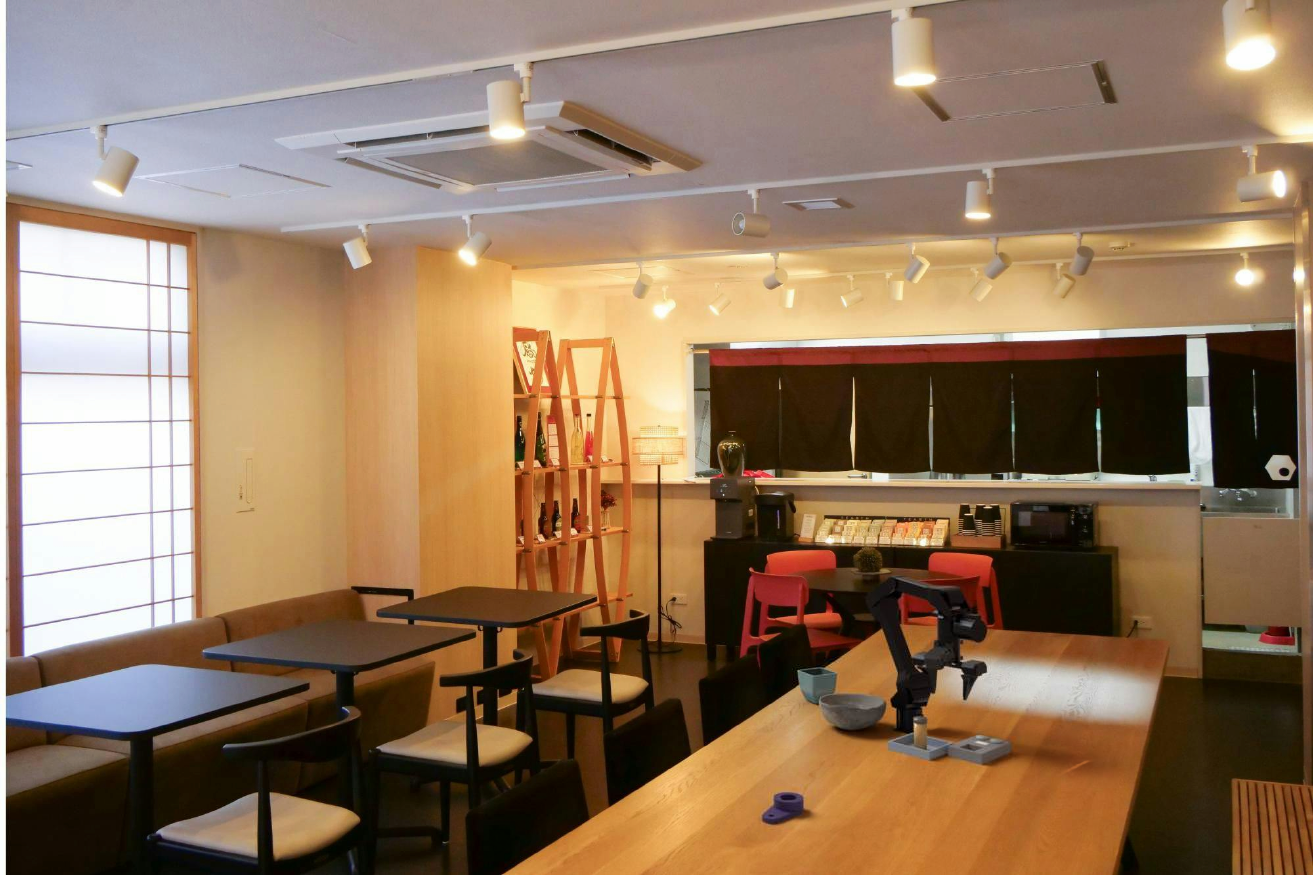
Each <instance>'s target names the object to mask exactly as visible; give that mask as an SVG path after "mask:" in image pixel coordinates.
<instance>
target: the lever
mask: <svg viewBox="0 0 1313 875" xmlns="http://www.w3.org/2000/svg"><path fill="white" fill-rule="evenodd" d="M804 798H805V797H804V796H803V795H802V794H799V793H797V792H793V791H792V792H791V791H784V792H778V793H775V794H774V795H773V805H771V806H770V807H769V808H768V809H767V810H765V811H764V812H763V813H762V815H761V821H762V822H763V823H765V824H768V825H769V824H770V825H774V824H779V823H782V822H784V821H787V820H790V819H793V818H795V817H798V816H801V815H803V814H804V812H805V810H804V807H805V806H804V803H805V802H804Z"/></svg>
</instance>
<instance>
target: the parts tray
mask: <svg viewBox="0 0 1313 875" xmlns="http://www.w3.org/2000/svg"><path fill="white" fill-rule="evenodd" d="M952 744H955V743H954V742H952V741H949V740H944V739H941V738H936V737H932V736H928V735H927V750H923V749H919V748H915V747H914V733H907V734H905V735H903V736H902V735H901V736H899V737H897V738H894V739H891V740H888V741H887V750H888V751H893V752H895V753H899V754H903V755H908V756H911V757H914V758H919V759H923V760H926V761H932V760H934V759H937V758H940V757H942V756H945V755H946V754H947V755H948V746H950V745H952Z"/></svg>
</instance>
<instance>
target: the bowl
mask: <svg viewBox="0 0 1313 875" xmlns="http://www.w3.org/2000/svg"><path fill="white" fill-rule="evenodd" d="M818 707H819V708H820V710H821V714H822V716H823V718H824V719H825V721H827V722H828V723H830V724H832V725H833V726H835V727H836V728H838V729H842V730H846V731H856V730H862V729H866V728H869V727H870V726H873V725H876V724H877V723H879V722H880V721H881V720H882V718H884V716H885V714H886V710H887V702H886V700H885V699H884V698H882V697H881V696H877V695H873V694H863V693H850V692H849V693H848V692H847V693H845V692H844V693H842V692H841V693H840V692H839V693H838V692H837V693H834V694H828V695H825V696H822V697H820V699H819V703H818Z"/></svg>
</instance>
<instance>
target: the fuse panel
mask: <svg viewBox="0 0 1313 875" xmlns="http://www.w3.org/2000/svg"><path fill="white" fill-rule="evenodd" d="M1011 753H1012V742H1011V741H1007V740H1003V739H1000V738H994V737H990V736H988V735H982V734H976V735H974V736H971V737H968V738H966V739H963V740H960V741H958V742H956V743H954V744H952V745H950V746H948V753H947V756H948V757H949V758H952V759H953V758H954V759H957V760H961V761H965V762H969V763H973V764H977V765H981V766H982V765H984V764H986V763H989V762H992V761H993V760H997V759H999V758H1001V757H1004V756H1006V755H1008V754H1011Z"/></svg>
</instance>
